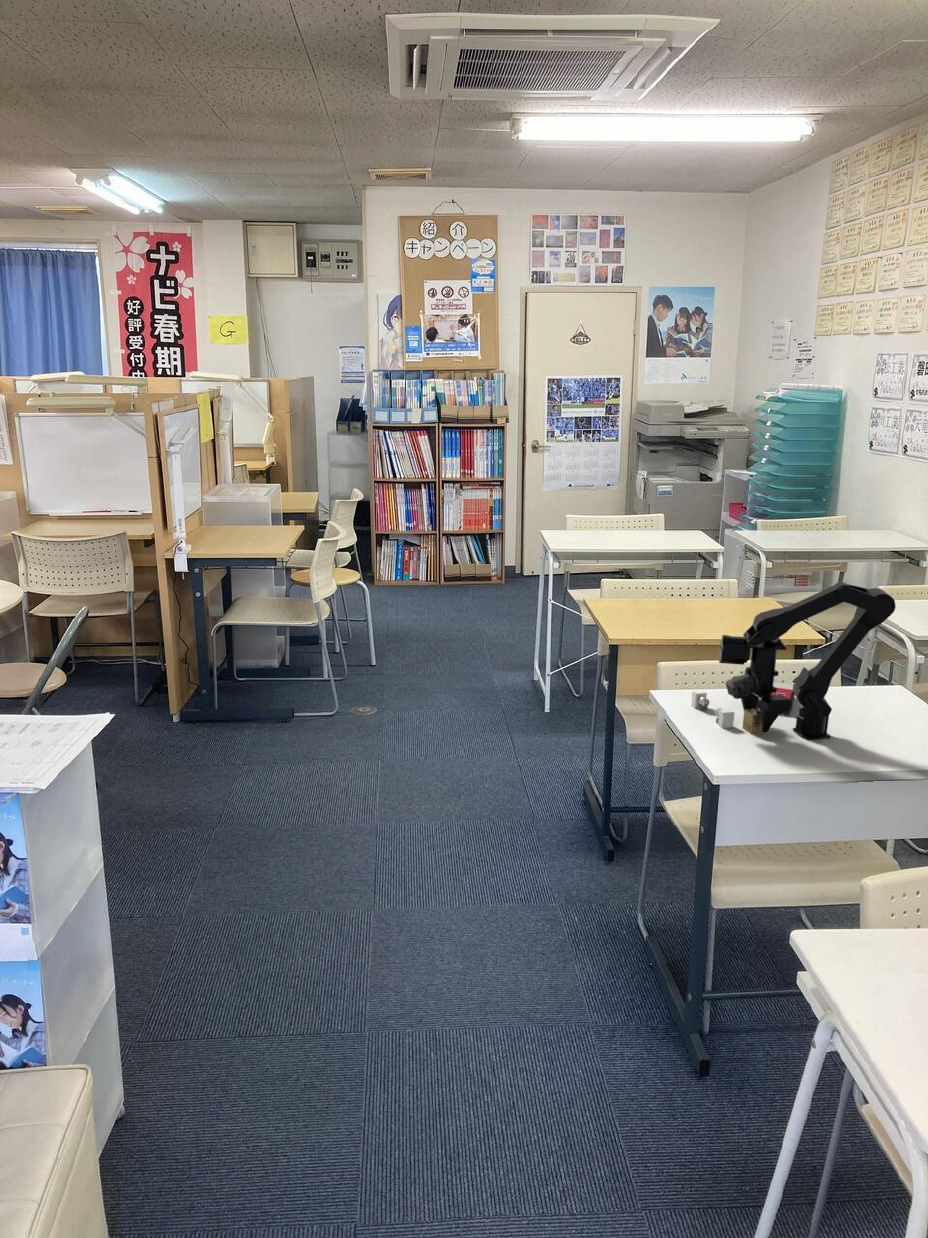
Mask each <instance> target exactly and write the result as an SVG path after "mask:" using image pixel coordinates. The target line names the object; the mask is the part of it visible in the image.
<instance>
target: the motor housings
mask: <svg viewBox="0 0 928 1238" xmlns="http://www.w3.org/2000/svg"><path fill="white" fill-rule="evenodd" d="M707 694H708V693H707V692H706V691H704V690H692V692H691V707H693V709H698V705H700V704H699V703H698V702H697V698H698V697H699V696H704V697H705V698H707ZM718 718H719V719H718V723H717V726H718V727H720V728H721V729H728V728H734V721H735V711H734V710H732V709H731V708H727V709H723V710H719V717H718Z"/></svg>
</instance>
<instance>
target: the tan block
mask: <svg viewBox="0 0 928 1238" xmlns="http://www.w3.org/2000/svg"><path fill="white" fill-rule="evenodd" d="M742 719H743V720H742V726H741V727H742V729H743V730H744V731H745V732H747V733H748V734H750V735H758V734H759V735H762V734H770V733H771V732H770V731H771V727H770V728H769V730H768V731H767V732H762V712H761V710H760V709H759V708H758V707H755V708H751V709H743V718H742Z"/></svg>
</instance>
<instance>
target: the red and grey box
mask: <svg viewBox="0 0 928 1238" xmlns="http://www.w3.org/2000/svg"><path fill="white" fill-rule="evenodd" d="M793 685H794V684H789V683H788V684H787V683H781V682H775V681H774V684H773V686H774V687H776V688H777V691H776V692H772V693H771V695H779V694H782V695H783V696H785V697H787V698H788V699H790V700H791V702H792V705H793V704H794V701H795V697H796V696H795V694H794V692H793ZM760 703H761V698H760V697H759V700H758V703H757V705H756V707H759V706H761V704H760ZM790 714H791V711H782V712H781V714H780V715H786V716H790Z"/></svg>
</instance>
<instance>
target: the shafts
mask: <svg viewBox="0 0 928 1238" xmlns="http://www.w3.org/2000/svg"><path fill="white" fill-rule="evenodd" d="M697 702H698V703H699V704H700V705H698V708H697V710H698V709H699V710H698V711H700V710H702V711H707V710H708V707H709V705H710V700H709V699H708V698H707V697H706V698H705V697H704V696H699V697H698V698H697ZM719 710H724V709H723V708H716V710H715V712H714V714H715V716H716V720H715V723H716V724H718V719H719Z"/></svg>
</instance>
